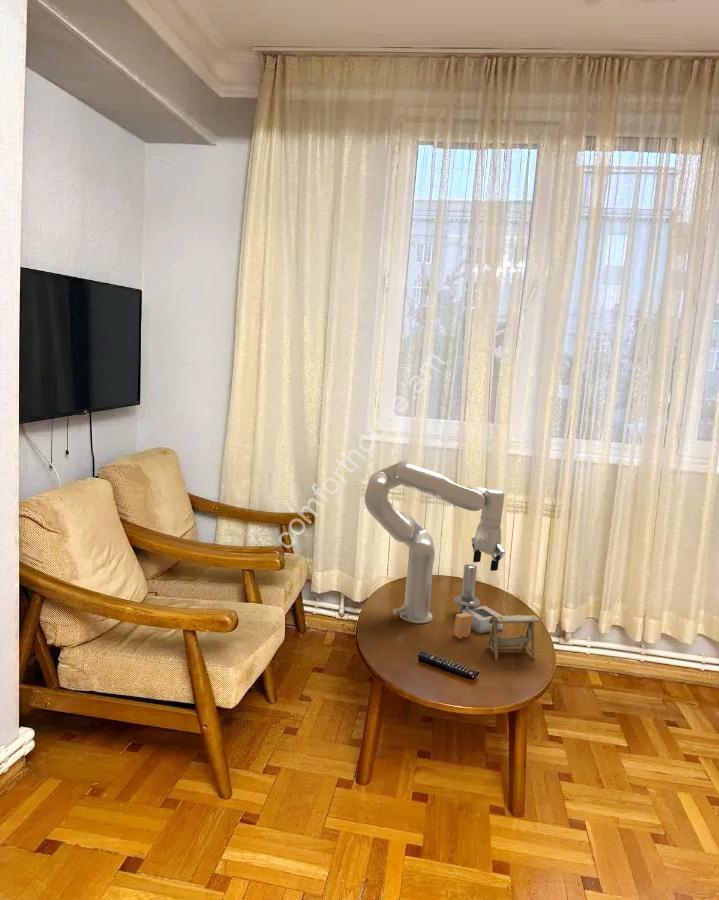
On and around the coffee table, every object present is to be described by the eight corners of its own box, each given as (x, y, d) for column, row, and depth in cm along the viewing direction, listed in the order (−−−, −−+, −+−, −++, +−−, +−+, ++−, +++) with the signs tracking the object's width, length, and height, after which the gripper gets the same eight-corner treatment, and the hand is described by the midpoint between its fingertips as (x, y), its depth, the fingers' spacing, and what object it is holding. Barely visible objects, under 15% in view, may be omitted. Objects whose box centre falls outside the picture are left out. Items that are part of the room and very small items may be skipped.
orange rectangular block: (469, 636, 248) (472, 615, 247) (458, 638, 246) (460, 617, 245) (464, 633, 251) (467, 612, 250) (453, 635, 249) (455, 614, 247)
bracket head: (479, 633, 252) (484, 581, 248) (446, 612, 269) (451, 563, 266) (502, 629, 257) (508, 578, 254) (469, 608, 275) (474, 561, 271)
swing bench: (524, 647, 243) (529, 608, 240) (535, 660, 233) (540, 619, 231) (485, 648, 240) (489, 608, 238) (494, 660, 231) (499, 619, 228)
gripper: (467, 516, 260) (462, 559, 263) (499, 529, 246) (493, 574, 249) (482, 515, 264) (477, 557, 267) (514, 528, 250) (508, 572, 253)
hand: (485, 566), depth 258 cm, fingers open, 9 cm apart
